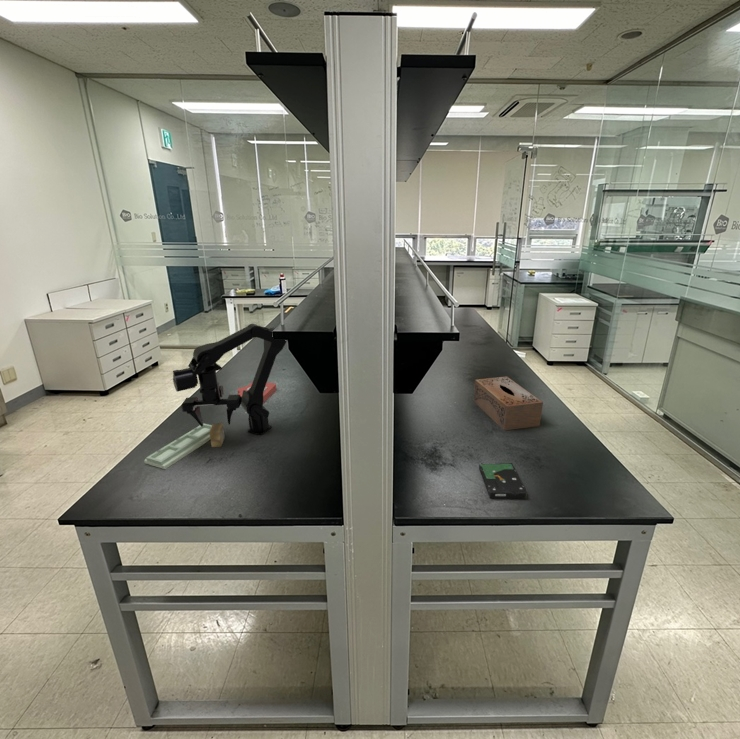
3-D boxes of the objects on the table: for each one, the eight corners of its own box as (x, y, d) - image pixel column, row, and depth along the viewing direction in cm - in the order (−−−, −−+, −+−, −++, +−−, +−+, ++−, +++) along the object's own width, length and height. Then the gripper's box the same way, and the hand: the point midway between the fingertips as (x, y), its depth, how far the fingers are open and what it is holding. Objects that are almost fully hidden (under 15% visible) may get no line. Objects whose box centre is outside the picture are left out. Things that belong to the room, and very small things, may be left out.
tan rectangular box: (225, 437, 151) (223, 423, 149) (221, 446, 145) (219, 431, 143) (215, 438, 150) (213, 423, 148) (211, 447, 145) (209, 432, 143)
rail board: (220, 432, 154) (219, 426, 153) (165, 469, 133) (163, 462, 132) (202, 428, 157) (200, 422, 156) (144, 463, 136) (143, 456, 135)
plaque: (246, 379, 193) (277, 381, 190) (247, 387, 194) (277, 389, 192) (227, 395, 177) (260, 398, 174) (228, 404, 178) (261, 406, 175)
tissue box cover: (539, 426, 155) (543, 402, 152) (503, 431, 153) (506, 406, 149) (504, 398, 179) (507, 376, 175) (473, 401, 176) (475, 379, 173)
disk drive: (526, 501, 117) (511, 469, 131) (528, 492, 116) (512, 462, 130) (489, 500, 117) (477, 469, 131) (490, 492, 116) (478, 462, 130)
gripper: (241, 373, 148) (247, 412, 154) (187, 376, 146) (194, 416, 152) (235, 385, 138) (241, 427, 143) (176, 389, 136) (185, 431, 142)
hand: (216, 424), depth 145 cm, fingers open, 9 cm apart
